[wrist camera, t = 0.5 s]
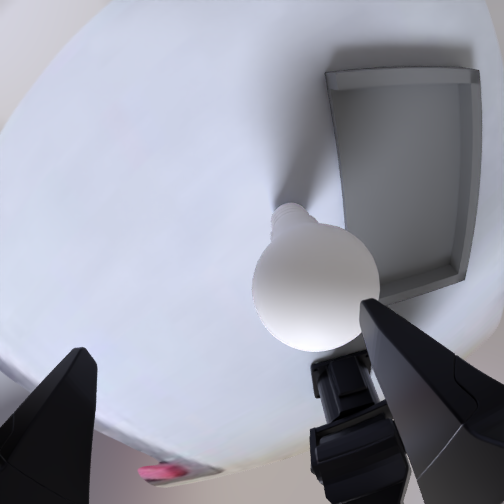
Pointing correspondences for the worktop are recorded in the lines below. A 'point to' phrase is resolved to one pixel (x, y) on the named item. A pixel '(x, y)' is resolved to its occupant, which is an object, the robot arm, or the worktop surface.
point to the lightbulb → (312, 281)
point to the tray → (410, 170)
